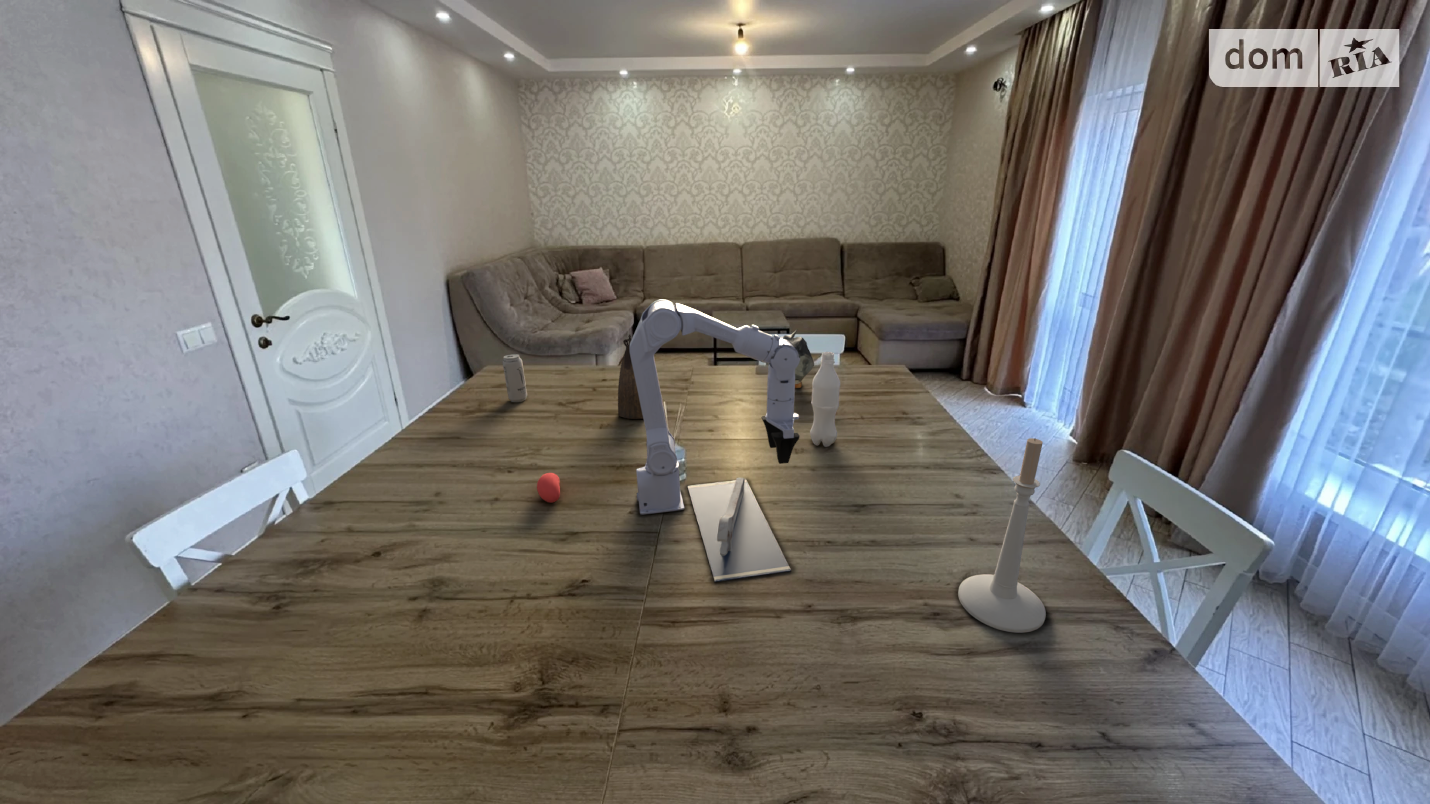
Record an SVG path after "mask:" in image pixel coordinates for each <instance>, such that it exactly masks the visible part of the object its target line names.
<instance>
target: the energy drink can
mask: <svg viewBox="0 0 1430 804" xmlns="http://www.w3.org/2000/svg"><path fill="white" fill-rule="evenodd" d="M502 368H503V374H504V380H505V387H506V392H507V397H508V400H510V402H511V403H522V402H524V401H526V400H527V398H528V390H527V384H526V377H525V370H524V364H523V360H522V358H521V356H520V354H516V353H511V354H510V353H509V354H505V355H504V356H503V360H502Z"/></svg>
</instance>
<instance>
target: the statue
mask: <svg viewBox="0 0 1430 804" xmlns="http://www.w3.org/2000/svg"><path fill="white" fill-rule="evenodd" d="M627 336H628V338H626V339H623V340H622V342H623V345H624V346H625V350H624V356H622V358H621V359H622V360H621V364H620V368H619V375H618V388H617V413H618V414H617V415H618V416H619V417H621V418H624V419H627V420H640V419H642V420H644V419H643V414H642V409H641V405H640V400H639V395H638V390H637V385H636V380H635V376H634V371H633V366H632V361H631V356H630V342H631V340H632V335H631V334H628V335H627Z"/></svg>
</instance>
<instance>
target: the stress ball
mask: <svg viewBox="0 0 1430 804" xmlns="http://www.w3.org/2000/svg"><path fill="white" fill-rule="evenodd" d="M560 483H561V480H560V477H559V476H558V474H556V473H554V472H546V473H543V474H542V475H541V476H540V477H539V478H538V479H537V483H536V490H537V493H538V496H539V497H540V498H541V499H542V501H545V502H547V503H550V504H551V503H552V504H553V503H555V502H557V501H558V500H559V498H560V497H561V487H560Z"/></svg>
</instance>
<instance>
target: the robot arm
mask: <svg viewBox="0 0 1430 804" xmlns="http://www.w3.org/2000/svg"><path fill="white" fill-rule="evenodd" d="M680 332H681V336H687V335H689V334H692V333H699V334H703V335H706V336H709V337H711V338H714V339H717V340H720V341H723V342H726V343H729V344H731V345H732V347H733V350H734V352H735V353H737V354H740V355H743V356H745V357H748V358H750V359H753V360H755V361H758V362H760V363H763V364H764V363H765V364H767V365H768V367H767V379H766V380H767V386H766V413H765V415H762V416H761V420H762V422H763V425H764V428H765V430H766V437H767V441H768V445H769V448H770V449H776V458H777V459H776V460H777V462H778V464H779V465H783V464H789V463H790V459H791V457H792V453H793V450H794V447H795V445H796V444H797V442H798V441H799V440H800V434H799V432H795V429H794V424H795V420H799V419H800V415H799V413H798V412H795V392H796V388H795V369H796V367H797V366H798V364H799V362H800V358H799V355H798V352H797V350H796V349H795V348H794V346H793V345H792V344H791V343H790V342H789V341H787V340H786V339H784V338H783V337H784V336H779V335H778V334H773V335H772V334H769V333H767V332H764V331H762V330H760V328H759V326H757V325H755V324H751V326H750V325H747V324H746V325H743V326H740V327H735V326H733V325H731V324H729V323H726V322H724V321H721V320H720V319H717V318H715V317H713V316H710V315H708V314H706V313H703V312H702V311H699V310H697V309H695V308H693V307H690V306H687V305H684V304H681V303H678V302H676V303H675V304H674V303H673V302H672V301H670V300H668V299H656V300H655V301H653V302H652V303H650V305H649V306H648V307H647V308H646V309H645V310H644V311H643V312H642V313H641V317H640V320H639V322H638V324H637V327H636V329H635V331H634V334H633V336H632V337H631V339H632V340H631V342H630V356H631V361H632V366H633V371H634V376H635V380H636V385H637V390H638V395H639V400H640V405H641V409H642V414H643V419H642V420H643V423H644V428H645V433H646V435H645V436H646V443H645V445H646V462H645V465H644V466H641V467H638V468H635V472H636V484H637V485H636V487H637V492H636V501H637V502H638V507H639V514H640V515H651V514H661V513H668V512H669V513H670V512H677V511H683V510H685V504H684V500H683V496H682V492H681V483H680V481H681V480H680V463H679V460H678V456H677V454H676V453H677V451H676V439H675V437H674V436H673V434H672V433H671V432H670V430H669V425H668V422H667V418H666V413H665V407H664V402H663V396H662V392H661V391H662V390H661V386H660V381H659V375H658V370H657V365H656V361H655V354H656V353H657V352H658V351H659V350H660V348H661V347H662V346H663V345H665V344H667V343H669V342H670V341H672V340H673V339H675V338H676V337H677V336H678V334H680Z"/></svg>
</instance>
